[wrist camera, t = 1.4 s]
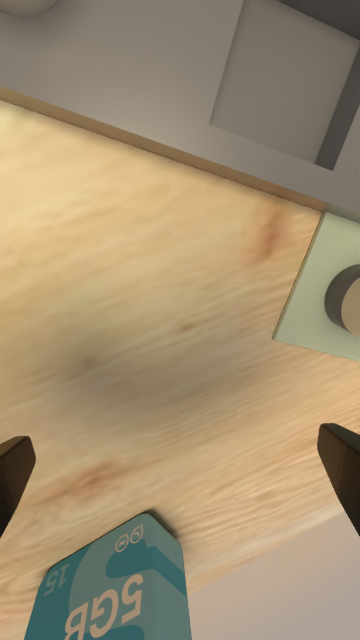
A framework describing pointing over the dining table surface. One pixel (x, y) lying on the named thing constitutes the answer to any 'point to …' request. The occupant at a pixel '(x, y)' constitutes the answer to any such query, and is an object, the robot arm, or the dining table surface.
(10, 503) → the robot arm
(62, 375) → the dining table surface
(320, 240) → the coaster
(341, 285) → the cream rounded peg
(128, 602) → the data package
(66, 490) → the dining table surface
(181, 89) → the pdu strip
